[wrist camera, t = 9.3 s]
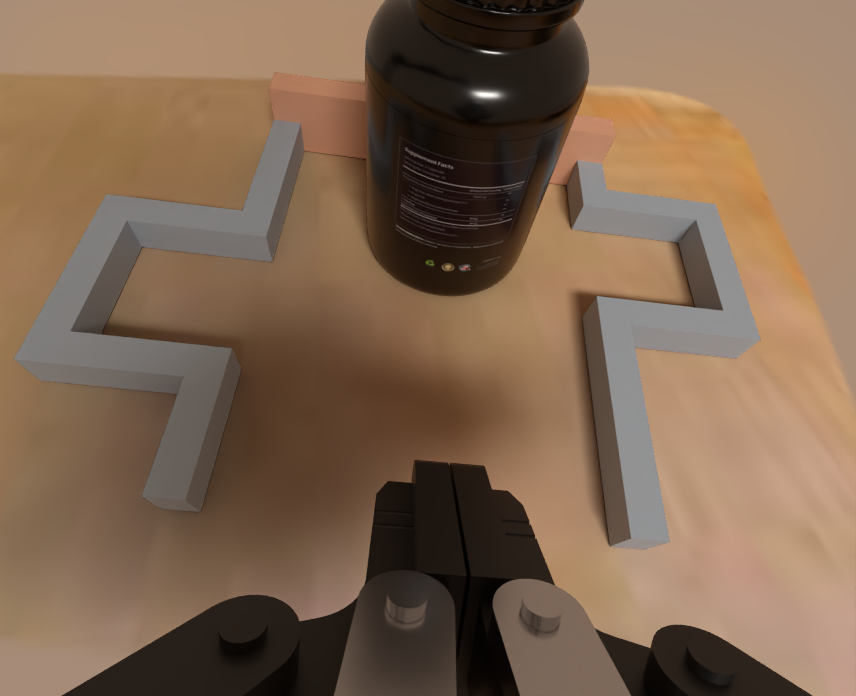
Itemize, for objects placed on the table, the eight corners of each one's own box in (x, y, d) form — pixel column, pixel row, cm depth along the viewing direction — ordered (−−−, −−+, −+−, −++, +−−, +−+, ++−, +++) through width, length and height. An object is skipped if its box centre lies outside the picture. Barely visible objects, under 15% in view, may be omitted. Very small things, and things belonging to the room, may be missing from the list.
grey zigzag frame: (-18, 493, 15) (-99, 463, 12) (176, 117, 24) (154, 55, 22) (796, 562, 16) (876, 548, 14) (684, 185, 26) (719, 134, 23)
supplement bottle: (373, 179, 23) (380, -179, 13) (514, 195, 24) (626, -138, 14) (356, 295, 20) (347, -68, 10) (522, 312, 20) (680, -18, 10)
